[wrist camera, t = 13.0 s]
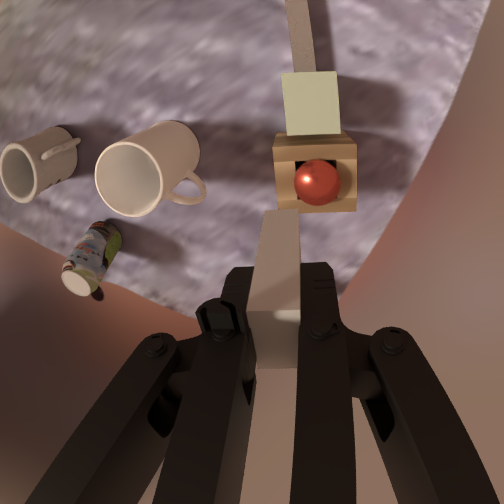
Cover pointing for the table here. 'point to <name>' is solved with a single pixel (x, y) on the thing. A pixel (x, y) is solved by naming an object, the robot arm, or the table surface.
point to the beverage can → (91, 258)
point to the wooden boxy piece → (307, 148)
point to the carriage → (311, 103)
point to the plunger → (317, 182)
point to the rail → (300, 36)
